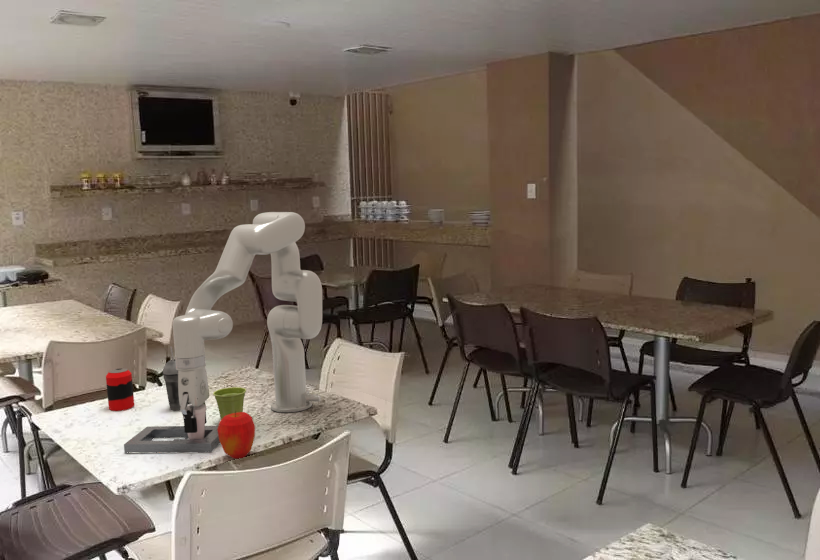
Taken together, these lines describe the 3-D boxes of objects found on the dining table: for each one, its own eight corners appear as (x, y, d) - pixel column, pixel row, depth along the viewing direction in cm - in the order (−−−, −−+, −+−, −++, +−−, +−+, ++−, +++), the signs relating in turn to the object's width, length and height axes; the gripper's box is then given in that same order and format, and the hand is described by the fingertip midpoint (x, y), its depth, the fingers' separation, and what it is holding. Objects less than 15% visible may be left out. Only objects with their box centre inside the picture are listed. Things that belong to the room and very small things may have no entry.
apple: (245, 447, 187) (242, 402, 185) (263, 455, 180) (261, 409, 179) (212, 457, 181) (209, 411, 179) (230, 466, 174) (227, 418, 172)
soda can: (135, 402, 231) (131, 366, 230) (133, 409, 224) (130, 372, 223) (109, 405, 229) (106, 369, 227) (107, 412, 222) (104, 374, 220)
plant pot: (210, 419, 211) (208, 391, 210) (240, 413, 216) (238, 385, 215) (222, 427, 203) (220, 397, 202) (253, 420, 209) (251, 391, 208)
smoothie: (201, 436, 196) (197, 386, 194) (213, 441, 191) (209, 390, 190) (180, 442, 192) (175, 392, 190) (191, 448, 187) (187, 396, 185)
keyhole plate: (228, 433, 198) (228, 425, 198) (211, 452, 184) (210, 443, 184) (147, 434, 199) (147, 426, 199) (124, 453, 186) (123, 444, 185)
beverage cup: (193, 405, 226) (188, 342, 224) (184, 412, 219) (179, 348, 217) (171, 405, 227) (166, 343, 225) (161, 412, 220) (156, 348, 218)
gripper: (192, 370, 180) (198, 439, 182) (215, 354, 197) (220, 417, 199) (163, 370, 180) (169, 439, 183) (188, 354, 197) (194, 417, 200)
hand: (195, 427), depth 191 cm, fingers closed on smoothie, 6 cm apart
